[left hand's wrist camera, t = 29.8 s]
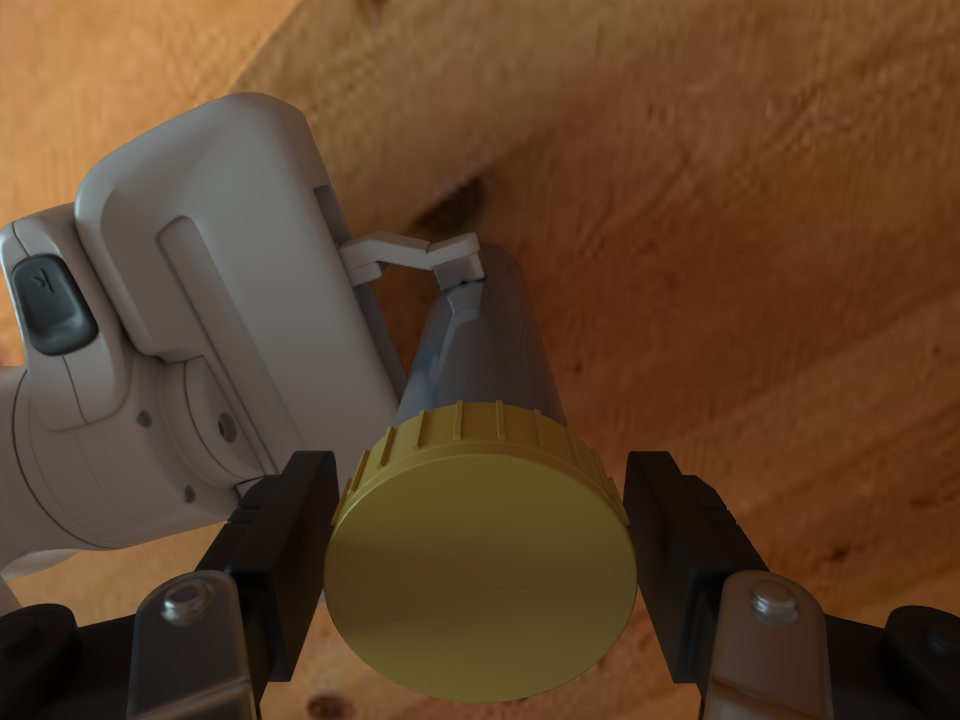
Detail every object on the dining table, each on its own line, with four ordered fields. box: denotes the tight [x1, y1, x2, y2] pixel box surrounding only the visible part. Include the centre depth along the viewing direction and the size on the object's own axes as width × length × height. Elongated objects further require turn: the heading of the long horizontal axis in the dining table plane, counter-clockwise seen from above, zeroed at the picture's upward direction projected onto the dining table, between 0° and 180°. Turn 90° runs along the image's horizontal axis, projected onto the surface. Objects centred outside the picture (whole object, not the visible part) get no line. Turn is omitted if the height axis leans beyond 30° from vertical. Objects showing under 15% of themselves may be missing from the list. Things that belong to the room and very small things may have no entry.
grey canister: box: [393, 244, 568, 428], centre depth 19 cm, size 4×4×19 cm
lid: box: [323, 400, 638, 703], centre depth 10 cm, size 5×5×2 cm
